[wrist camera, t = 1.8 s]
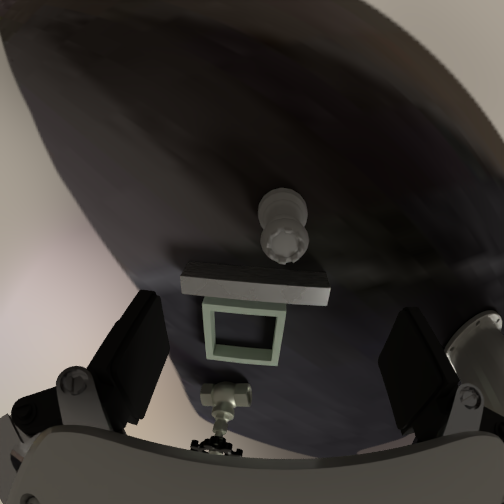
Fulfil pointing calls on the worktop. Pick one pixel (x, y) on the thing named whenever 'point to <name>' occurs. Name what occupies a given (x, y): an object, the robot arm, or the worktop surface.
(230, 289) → the door edge rail
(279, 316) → the socket
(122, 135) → the worktop surface
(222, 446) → the valve
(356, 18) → the worktop surface
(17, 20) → the worktop surface
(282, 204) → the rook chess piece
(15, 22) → the worktop surface
